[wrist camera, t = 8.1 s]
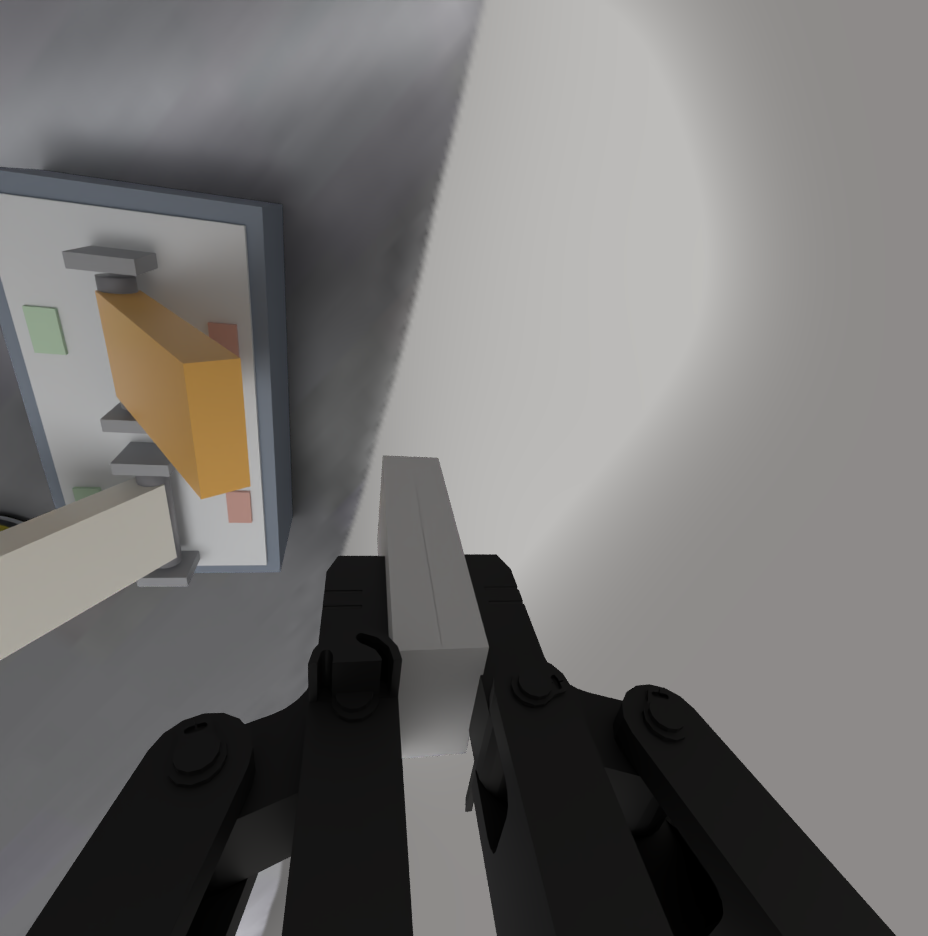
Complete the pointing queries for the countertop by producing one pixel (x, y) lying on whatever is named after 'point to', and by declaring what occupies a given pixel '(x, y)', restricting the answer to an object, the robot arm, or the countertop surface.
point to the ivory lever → (83, 556)
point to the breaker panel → (181, 291)
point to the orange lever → (176, 386)
